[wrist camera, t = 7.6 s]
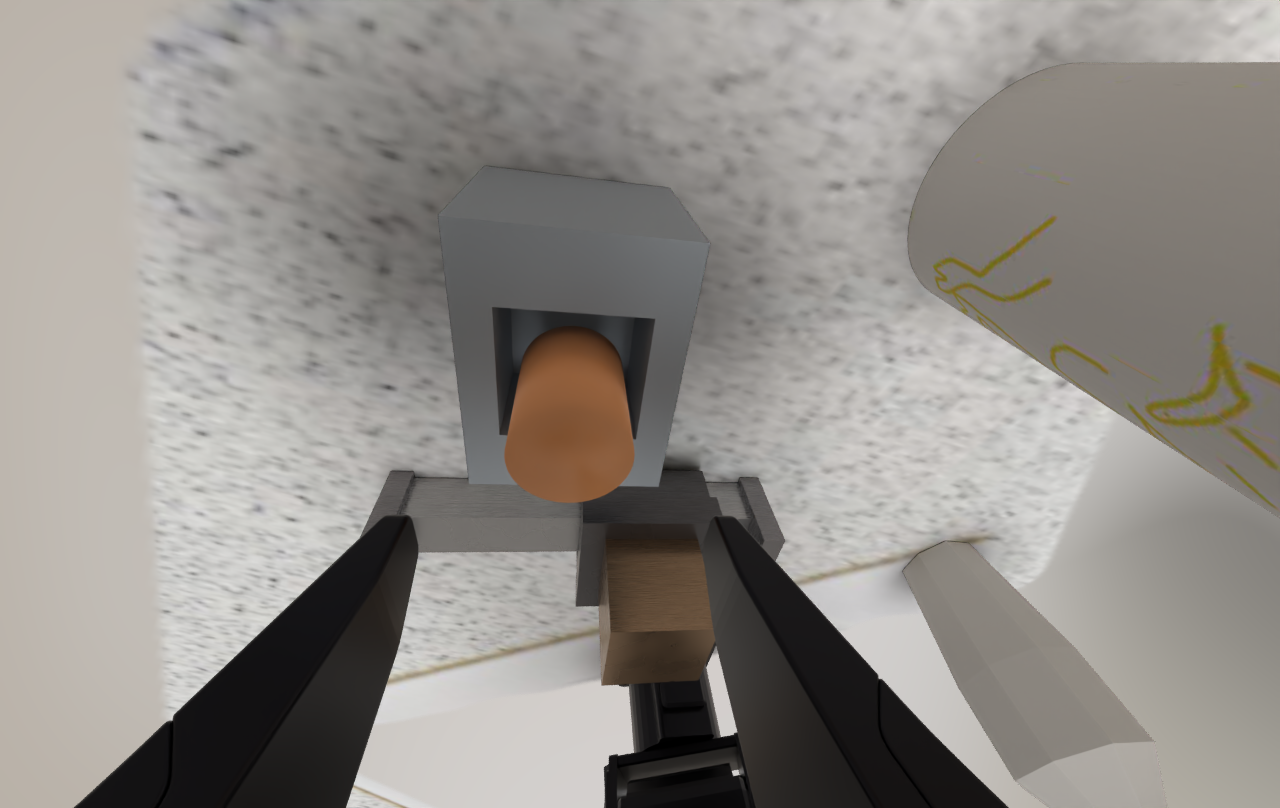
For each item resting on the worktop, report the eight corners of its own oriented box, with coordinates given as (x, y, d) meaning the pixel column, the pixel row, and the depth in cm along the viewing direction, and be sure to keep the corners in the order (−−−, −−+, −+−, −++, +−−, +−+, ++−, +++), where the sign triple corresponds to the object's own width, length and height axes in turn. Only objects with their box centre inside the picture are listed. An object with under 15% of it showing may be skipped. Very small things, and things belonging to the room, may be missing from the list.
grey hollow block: (639, 385, 20) (658, 486, 15) (496, 378, 19) (468, 484, 14) (670, 188, 16) (710, 243, 11) (484, 165, 15) (437, 215, 10)
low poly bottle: (1006, 548, 31) (1570, 1189, 13) (928, 598, 34) (1308, 1181, 16) (951, 521, 29) (1554, 1264, 11) (872, 577, 31) (1248, 1238, 14)
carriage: (683, 539, 26) (716, 690, 20) (576, 539, 25) (575, 698, 19) (705, 460, 23) (753, 612, 17) (582, 457, 22) (583, 618, 16)
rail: (742, 518, 26) (765, 581, 23) (402, 517, 23) (374, 589, 20) (758, 477, 24) (785, 540, 21) (390, 471, 22) (357, 542, 18)
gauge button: (617, 412, 14) (627, 503, 11) (522, 409, 14) (506, 502, 11) (628, 329, 12) (641, 409, 10) (520, 321, 12) (501, 404, 9)
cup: (865, 228, 17) (1229, 438, 8) (1083, -5, 14) (2276, -172, 4) (975, 336, 21) (1324, 576, 11) (1173, 170, 17) (1938, 308, 7)
